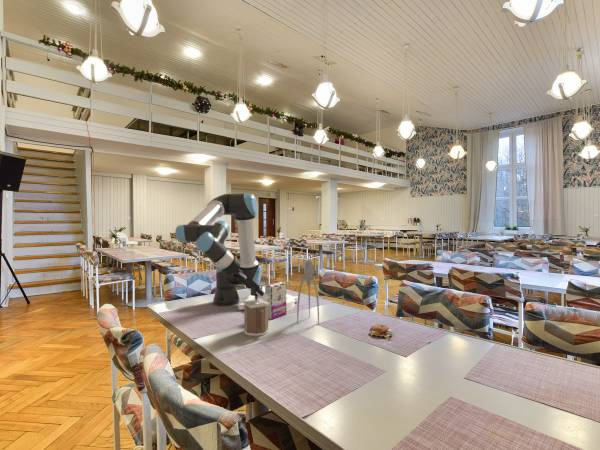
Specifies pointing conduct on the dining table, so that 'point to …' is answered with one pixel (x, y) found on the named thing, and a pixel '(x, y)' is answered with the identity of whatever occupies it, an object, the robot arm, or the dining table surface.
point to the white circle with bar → (289, 301)
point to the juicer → (308, 277)
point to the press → (256, 317)
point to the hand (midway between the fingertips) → (264, 297)
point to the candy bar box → (276, 299)
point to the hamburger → (380, 331)
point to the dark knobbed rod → (255, 294)
